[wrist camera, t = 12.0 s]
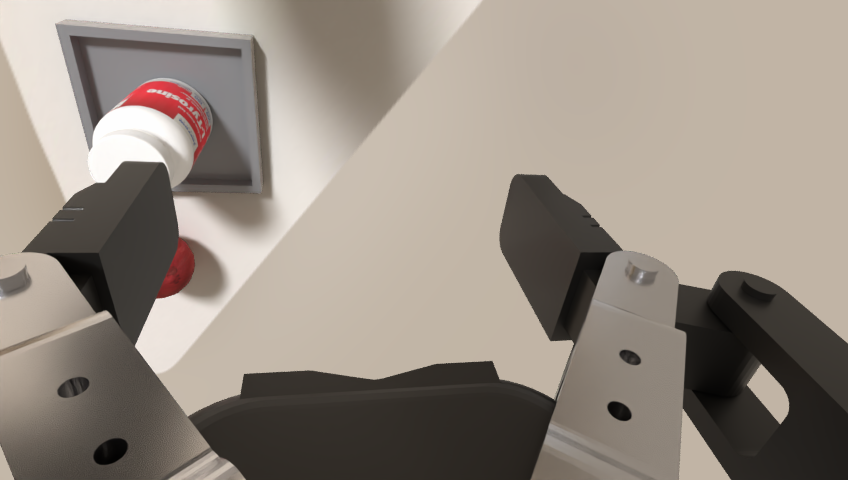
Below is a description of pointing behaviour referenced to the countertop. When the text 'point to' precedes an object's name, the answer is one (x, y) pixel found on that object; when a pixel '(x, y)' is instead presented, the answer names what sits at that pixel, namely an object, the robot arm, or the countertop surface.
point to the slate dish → (181, 60)
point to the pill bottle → (152, 130)
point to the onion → (178, 271)
